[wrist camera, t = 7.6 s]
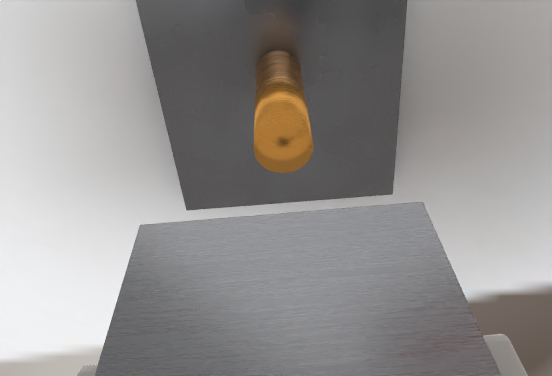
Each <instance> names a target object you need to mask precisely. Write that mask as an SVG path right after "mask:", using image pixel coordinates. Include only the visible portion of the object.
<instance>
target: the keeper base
mask: <svg viewBox="0 0 552 376" xmlns="http://www.w3.org/2000/svg"><path fill="white" fill-rule="evenodd" d="M136 2H137V7H138V11H139V15H140V19H141V23H142V27H143V31H144V36H145V40H146V44H147V48H148V52H149V56H150V60H151V65H152V69H153V73H154V77H155V81H156V85H157V89H158V94H159V98H160V102H161V106H162V110H163V114H164V118H165V122H166V127H167V131H168V135H169V139H170V143H171V147H172V151H173V156H174V160H175V164H176V168H177V172H178V176H179V180H180V185H181V189H182V193H183V197H184V201H185V205H186V209H187V210H197V209H210V208H222V207H235V206H248V205H261V204H274V203H286V202H299V201H312V200H325V199H338V198H351V197H363V196H376V195H389V194H392V193H393V180H394V167H395V154H396V141H397V127H398V114H399V101H400V88H401V74H402V61H403V48H404V35H405V21H406V8H407V0H136Z"/></svg>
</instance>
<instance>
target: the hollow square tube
mask: <svg viewBox="0 0 552 376" xmlns="http://www.w3.org/2000/svg"><path fill="white" fill-rule="evenodd" d="M95 376H500V374H499V371H498V369H497V367H496V365H495V362H494V360H493V358H492V356H491V354H490V351H489V349H488V347H487V345H486V342H485V340H484V338H483V336H482V333H481V331H480V329H479V327H478V325H477V322H476V320H475V318H474V316H473V313H472V311H471V309H470V307H469V304H468V302H467V300H466V298H465V296H464V293H463V291H462V289H461V287H460V284H459V282H458V280H457V278H456V275H455V273H454V271H453V269H452V267H451V264H450V262H449V260H448V258H447V255H446V253H445V251H444V249H443V246H442V244H441V242H440V240H439V238H438V235H437V233H436V231H435V229H434V226H433V224H432V222H431V220H430V218H429V215H428V213H427V211H426V209H425V206H424V204H423V202H415V203H403V204H391V205H379V206H366V207H354V208H342V209H330V210H318V211H305V212H293V213H281V214H269V215H257V216H244V217H232V218H220V219H208V220H195V221H183V222H171V223H159V224H147V225H140V227H139V230H138V233H137V237H136V240H135V243H134V247H133V250H132V253H131V257H130V260H129V263H128V267H127V270H126V273H125V277H124V280H123V283H122V287H121V290H120V293H119V296H118V300H117V303H116V306H115V310H114V313H113V316H112V320H111V323H110V326H109V330H108V333H107V336H106V340H105V343H104V346H103V350H102V353H101V356H100V360H99V363H98V366H97V370H96V373H95Z"/></svg>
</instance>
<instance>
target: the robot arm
mask: <svg viewBox="0 0 552 376" xmlns="http://www.w3.org/2000/svg"><path fill="white" fill-rule="evenodd" d="M483 338H484V340H485V342H486V345H487V347H488V349H489V351H490V354H491V356H492V358H493V360H494V362H495V365H496V367H497V369H498V371H499V374H500V376H527V373H526V372H525V370H524V368H523V366H522V364H521V362H520V360H519V358H518V356H517V354H516V352H515V350H514V348H513V346H512V344H511V342H510V340H509V338H508V337H506V336H505V335H504V334H496V335H486V336H483ZM97 366H98V365H90V366H83V367H82V369H81V370H80V372H79V373H78V375H77V376H95V373H96V370H97Z"/></svg>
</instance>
